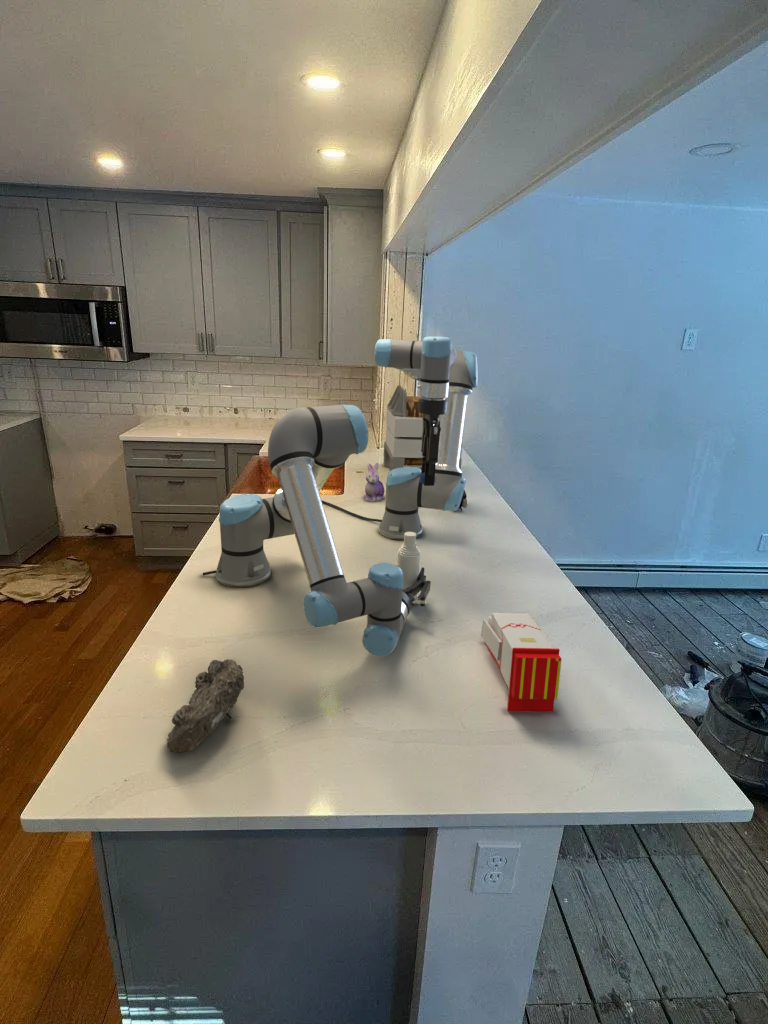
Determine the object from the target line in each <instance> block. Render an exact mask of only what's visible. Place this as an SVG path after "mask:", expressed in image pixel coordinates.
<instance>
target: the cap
mask: <svg viewBox="0 0 768 1024" xmlns="http://www.w3.org/2000/svg"><path fill="white" fill-rule="evenodd" d="M424 475H425V472H423V473H421V474H420V483H422V484H424ZM435 480H436V475H435V479H434V483H435Z"/></svg>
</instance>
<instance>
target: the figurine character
mask: <svg viewBox="0 0 768 1024" xmlns="http://www.w3.org/2000/svg"><path fill="white" fill-rule="evenodd" d="M467 495H468V494H467V493H466V490H465V489H464V492H463V496H462V500H461V503H460V505H459V508H458V509H459V510H460V512H463V509H464V508H465V509H466V508H467V506H468V499H467V497H468V496H467ZM458 509H457V510H458Z"/></svg>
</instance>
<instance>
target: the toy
mask: <svg viewBox="0 0 768 1024" xmlns="http://www.w3.org/2000/svg"><path fill="white" fill-rule="evenodd" d="M480 637H481V639H482V640H483V641H484V644H485V646H486V647H487V649H488V651H489V653H490V654H491V656H492V658H493V661H494V662H495V664H496V666H497V667H498V669H499V670H500V673H501V675H502V677H503V680H504V681H505V683H506V686H507V687H508V697H507V698H508V699H507V712H528V713H529V712H533V713H534V712H536V713H553V712H554V707H555V700H558V696H559V687H560V679H561V678H560V676H561V667H562V657H561V655H560V651H561V650H560V648H555V647H554V646H553V644H551V642H550V641H549V639H548V638H547V636H546V635H545V634H544V632H543V631H542V630H541V628H540V627H539V625H538V624H537V622H536V621H535V619H534V618H533V617H532V616H531V614H530V613H513V612H510V613H509V612H491V615H488V620H487V619H486V618H482V624H481V633H480Z"/></svg>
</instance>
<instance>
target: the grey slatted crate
mask: <svg viewBox="0 0 768 1024" xmlns="http://www.w3.org/2000/svg"><path fill="white" fill-rule="evenodd" d="M407 394H408V393H407V390H406V389H404V388H403V387H402V385H399V384H398V385H397V386H396V388H395V390H394V392H393V394H392V395H391V398H390V400H389V402H388V404H387V405H386V413H385V414H386V415H385V423H386V428H385V438H384V442H383V466H384V467H388V468H389V472H390V471H391V470H393V469H396V468H401V467H405V466H406V467H417V466H418V467H422V457H424V456H422V452H421V448H422V431H423V420H422V419H423V417H425V415H426V414H422V413H420V412H419V411H418V404H419V399H420V398H421V397H420V396H415V395H414V396H413V395H412V396H411V395H407ZM438 421H439V416H438ZM464 422H465V419H464ZM464 429H465V424H464V425H463V433H462V439H463V438H464V431H465V430H464ZM463 442H464V441H463V440H462V442H461V450H460V458H459V469H460V470H461V471H462V461H463V460H462V453H463Z"/></svg>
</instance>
